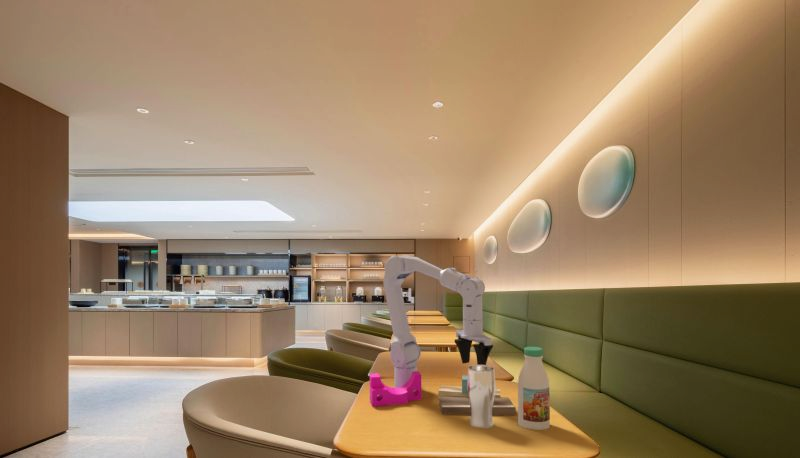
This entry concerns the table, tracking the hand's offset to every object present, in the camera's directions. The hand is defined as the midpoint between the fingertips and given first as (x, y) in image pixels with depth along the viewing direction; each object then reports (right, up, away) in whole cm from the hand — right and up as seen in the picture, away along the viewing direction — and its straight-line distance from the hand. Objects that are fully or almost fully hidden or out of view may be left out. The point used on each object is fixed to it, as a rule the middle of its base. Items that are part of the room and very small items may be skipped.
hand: (473, 365), depth 136 cm
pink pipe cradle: (-23, -11, +1) cm, 25 cm away
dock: (0, -10, -7) cm, 12 cm away
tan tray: (-1, -11, +2) cm, 11 cm away
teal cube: (-1, -8, +1) cm, 8 cm away
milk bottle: (+12, -10, -19) cm, 25 cm away
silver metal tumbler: (-1, -10, -19) cm, 22 cm away
